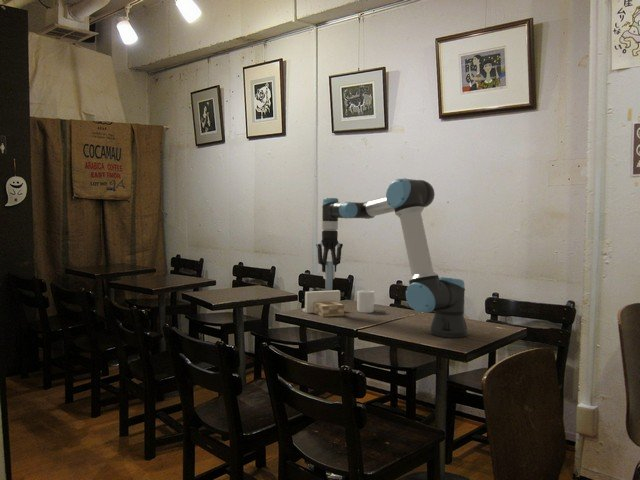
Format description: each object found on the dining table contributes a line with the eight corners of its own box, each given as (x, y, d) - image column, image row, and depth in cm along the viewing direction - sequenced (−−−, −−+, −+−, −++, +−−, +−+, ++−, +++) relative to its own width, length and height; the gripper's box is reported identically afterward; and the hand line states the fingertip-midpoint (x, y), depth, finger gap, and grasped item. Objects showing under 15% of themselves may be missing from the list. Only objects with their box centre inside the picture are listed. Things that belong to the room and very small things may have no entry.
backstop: (339, 310, 265) (340, 290, 264) (306, 312, 258) (307, 292, 257) (335, 309, 270) (335, 289, 269) (302, 311, 262) (303, 291, 262)
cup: (353, 311, 264) (354, 291, 263) (366, 308, 273) (367, 288, 273) (367, 313, 259) (368, 293, 258) (380, 310, 268) (381, 290, 268)
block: (343, 315, 253) (343, 304, 253) (322, 316, 249) (323, 306, 249) (333, 311, 263) (334, 301, 263) (313, 312, 259) (313, 302, 259)
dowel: (333, 290, 255) (334, 261, 254) (326, 290, 253) (327, 261, 253) (330, 289, 258) (330, 260, 257) (324, 289, 256) (324, 260, 256)
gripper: (341, 229, 261) (340, 277, 262) (311, 229, 254) (310, 278, 255) (348, 230, 254) (347, 279, 255) (317, 230, 247) (316, 280, 249)
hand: (328, 278), depth 255 cm, fingers closed on dowel, 3 cm apart
